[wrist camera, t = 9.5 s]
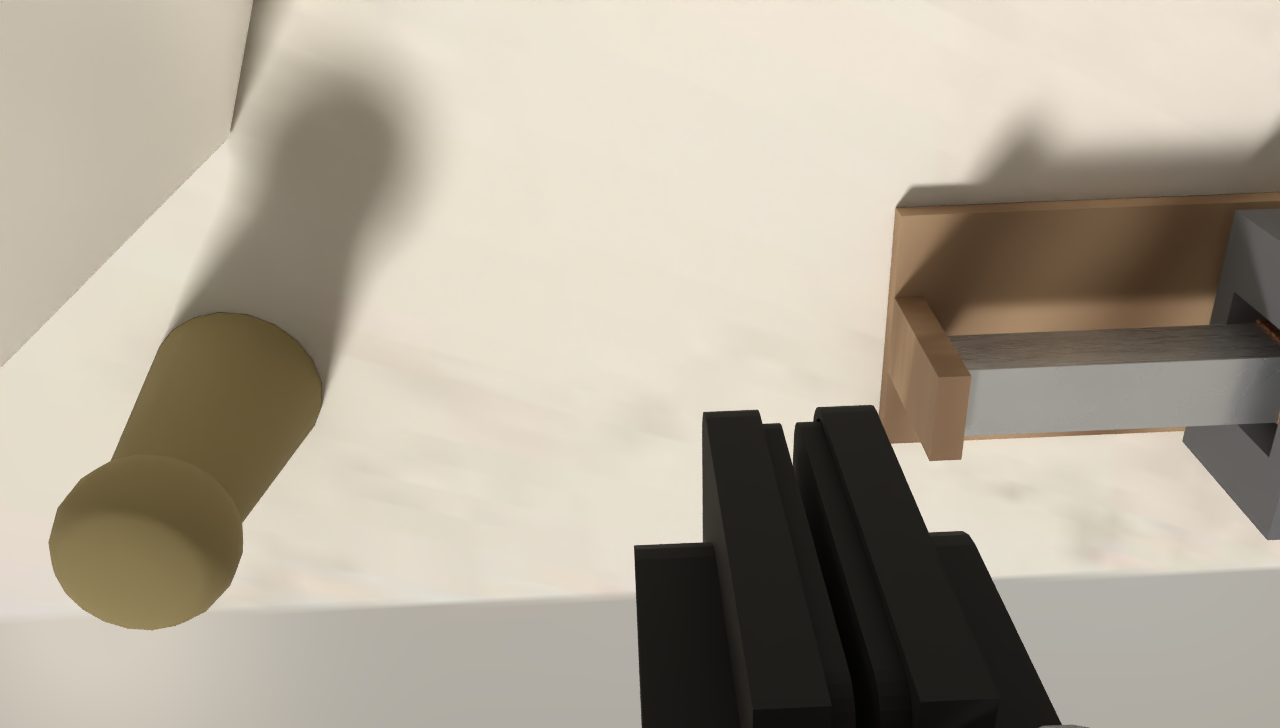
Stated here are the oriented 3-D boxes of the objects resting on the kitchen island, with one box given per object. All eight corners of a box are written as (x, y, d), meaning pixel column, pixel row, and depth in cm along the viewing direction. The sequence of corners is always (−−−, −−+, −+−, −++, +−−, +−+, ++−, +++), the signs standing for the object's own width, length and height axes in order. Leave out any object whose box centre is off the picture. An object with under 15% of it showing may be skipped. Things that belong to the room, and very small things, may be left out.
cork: (306, 307, 40) (211, 484, 30) (335, 453, 43) (257, 657, 33) (133, 316, 40) (-18, 496, 30) (174, 461, 42) (49, 668, 33)
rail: (1435, 311, 38) (1490, 346, 35) (1412, 380, 39) (1464, 418, 36) (925, 332, 37) (947, 370, 35) (918, 400, 39) (939, 441, 36)
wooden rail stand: (1417, 186, 39) (1561, 261, 33) (1348, 412, 43) (1465, 514, 37) (895, 207, 39) (948, 286, 33) (877, 432, 43) (921, 538, 37)
